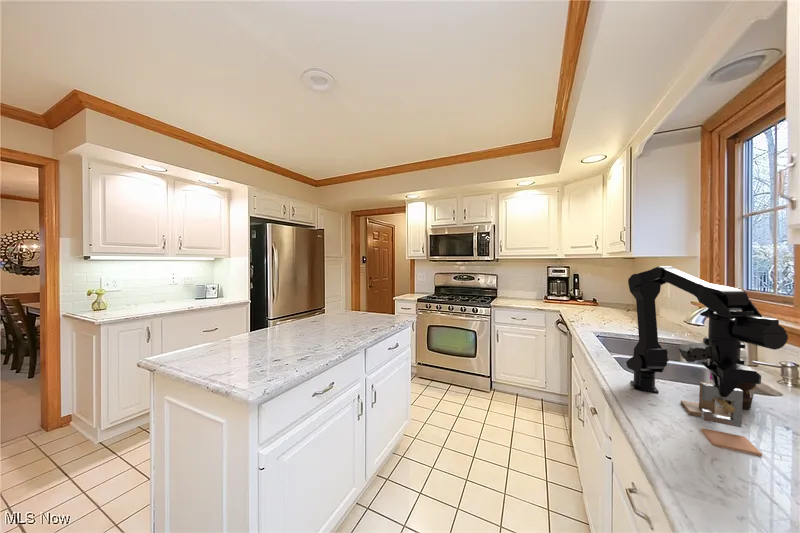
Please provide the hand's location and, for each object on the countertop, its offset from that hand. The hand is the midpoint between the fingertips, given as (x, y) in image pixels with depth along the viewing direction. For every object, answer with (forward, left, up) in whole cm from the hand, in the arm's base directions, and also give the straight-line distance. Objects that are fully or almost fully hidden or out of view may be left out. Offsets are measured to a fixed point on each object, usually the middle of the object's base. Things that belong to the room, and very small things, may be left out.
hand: (721, 395), depth 76 cm
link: (0, 0, -7) cm, 7 cm away
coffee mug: (-19, +8, -10) cm, 23 cm away
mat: (+6, -1, -9) cm, 11 cm away
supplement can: (-31, +12, -10) cm, 35 cm away
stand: (-5, 0, -9) cm, 11 cm away
